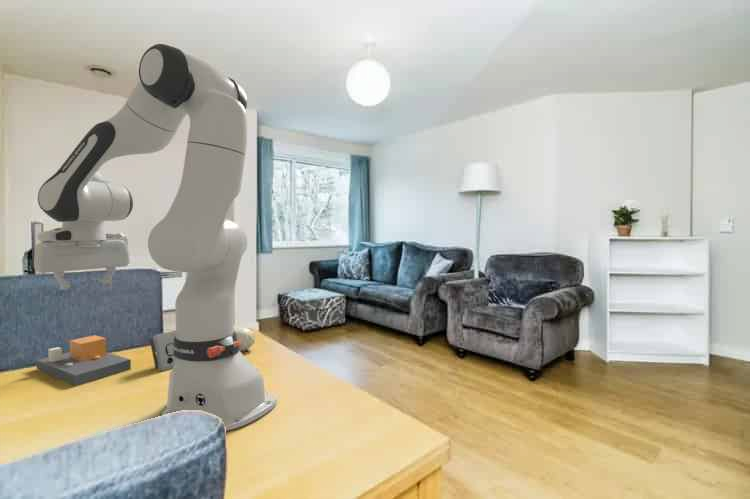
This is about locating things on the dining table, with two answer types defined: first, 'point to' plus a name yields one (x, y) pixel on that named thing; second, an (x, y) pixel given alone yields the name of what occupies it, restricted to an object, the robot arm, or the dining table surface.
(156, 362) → the electrical switch
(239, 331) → the baseball
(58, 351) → the plain toggle
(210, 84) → the robot arm
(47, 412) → the dining table surface
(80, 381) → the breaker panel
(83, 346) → the cap
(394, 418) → the dining table surface
